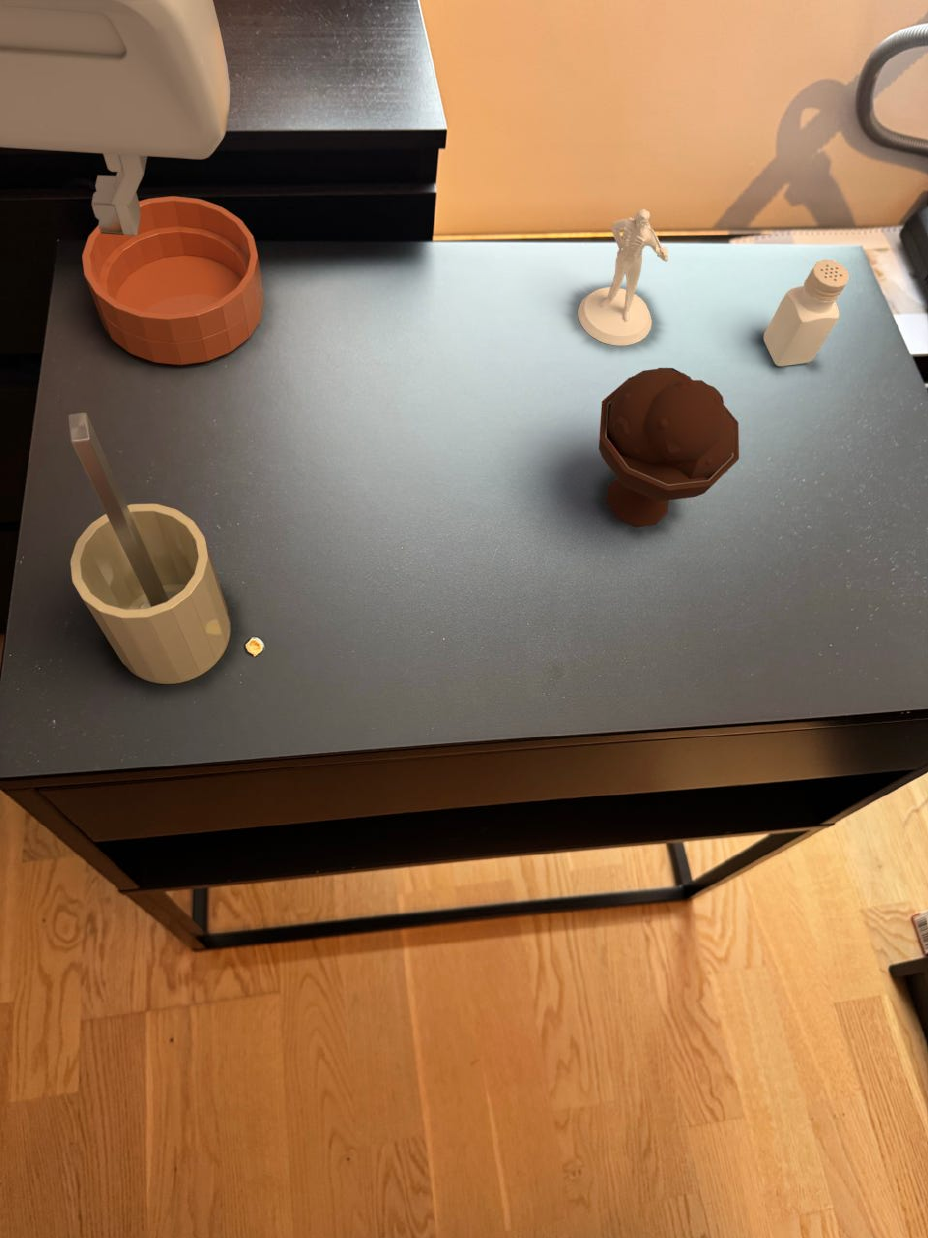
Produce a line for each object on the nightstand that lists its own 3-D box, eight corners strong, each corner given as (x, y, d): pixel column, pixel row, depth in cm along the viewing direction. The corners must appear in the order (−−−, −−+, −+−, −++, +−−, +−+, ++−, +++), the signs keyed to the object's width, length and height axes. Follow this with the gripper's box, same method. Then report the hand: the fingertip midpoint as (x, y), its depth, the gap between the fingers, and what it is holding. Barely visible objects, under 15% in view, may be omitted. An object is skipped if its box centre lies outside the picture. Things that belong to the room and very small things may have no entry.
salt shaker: (759, 337, 86) (801, 258, 78) (796, 332, 87) (842, 253, 79) (774, 369, 85) (819, 292, 76) (813, 364, 86) (861, 287, 77)
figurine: (562, 315, 85) (589, 207, 75) (608, 278, 88) (640, 168, 77) (621, 357, 84) (658, 253, 73) (666, 318, 86) (708, 212, 76)
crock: (121, 695, 65) (76, 630, 55) (109, 593, 69) (65, 514, 59) (239, 671, 67) (216, 603, 57) (221, 573, 70) (197, 492, 60)
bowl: (110, 380, 77) (91, 329, 72) (94, 261, 83) (75, 205, 78) (276, 356, 80) (269, 306, 75) (250, 243, 86) (242, 188, 81)
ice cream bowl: (724, 499, 78) (797, 381, 64) (646, 579, 73) (707, 470, 60) (629, 426, 80) (680, 298, 67) (548, 499, 76) (585, 378, 63)
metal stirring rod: (144, 660, 66) (35, 468, 45) (137, 607, 67) (30, 399, 46) (205, 648, 66) (128, 454, 45) (197, 596, 68) (118, 386, 47)
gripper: (-593, -146, 25) (-271, 259, 37) (180, -81, 27) (240, 283, 39) (-492, -256, 27) (-224, 155, 40) (200, -189, 29) (251, 183, 42)
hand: (10, 219), depth 39 cm, fingers open, 8 cm apart
